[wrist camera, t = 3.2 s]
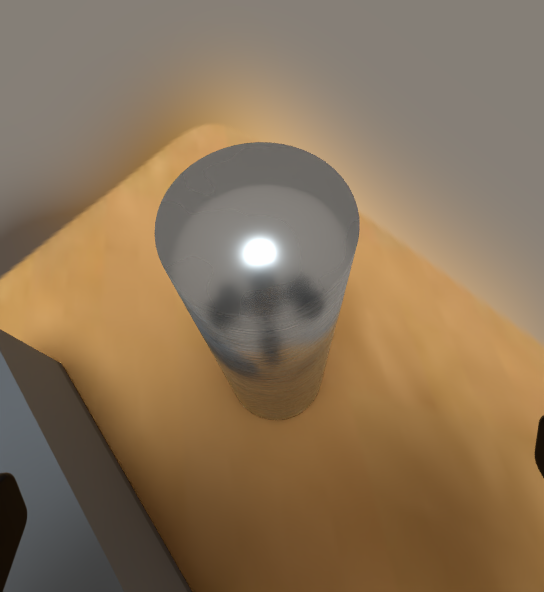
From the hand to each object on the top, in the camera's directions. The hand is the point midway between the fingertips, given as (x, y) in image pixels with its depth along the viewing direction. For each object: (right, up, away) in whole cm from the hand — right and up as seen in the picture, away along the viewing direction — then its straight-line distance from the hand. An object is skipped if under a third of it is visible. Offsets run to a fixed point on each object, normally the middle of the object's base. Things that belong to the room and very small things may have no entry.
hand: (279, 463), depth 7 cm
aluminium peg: (0, -1, +12) cm, 12 cm away
